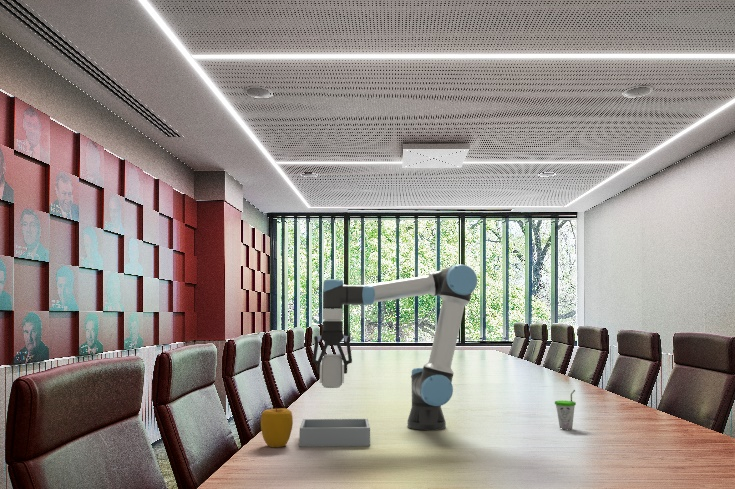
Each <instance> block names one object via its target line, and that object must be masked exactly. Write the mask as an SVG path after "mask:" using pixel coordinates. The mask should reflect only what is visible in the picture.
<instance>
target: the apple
mask: <svg viewBox="0 0 735 489" xmlns="http://www.w3.org/2000/svg"><path fill="white" fill-rule="evenodd" d="M293 419H294V418H293V412H292V411H291V410H290V409H288V408H286V407H284V408H277V407H275V408H271V409H270V408H269V409H265V410H263V411H262V412H261V416H260V430H261V435H262V438H263V441H264V442H265V444H266V445H267V446H268V447H270V448H282V447H284V446H287V444H288V442H289V440H290V436H291V433H292V430H293V424H294V422H293Z"/></svg>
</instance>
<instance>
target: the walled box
mask: <svg viewBox="0 0 735 489" xmlns="http://www.w3.org/2000/svg"><path fill="white" fill-rule="evenodd" d="M369 421H370V420H369V419H368V418H303V419H302V420H301V423H300V426H299V443H298V445H299V447H371V426H370V422H369Z"/></svg>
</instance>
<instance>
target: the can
mask: <svg viewBox="0 0 735 489" xmlns="http://www.w3.org/2000/svg"><path fill="white" fill-rule="evenodd" d="M321 364H322V383H321V386H323V388H325V389H338V388H340V387H341V386H343V383H342V365H343V360H342V357H341V355H340V354H335V353H334V354H333V353H331V354H330V353H327V354H326V353H325V354H324V356H323V358H322V361H321Z"/></svg>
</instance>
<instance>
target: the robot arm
mask: <svg viewBox="0 0 735 489" xmlns="http://www.w3.org/2000/svg"><path fill="white" fill-rule="evenodd" d="M322 284H323V285H322V286H323V288H322V320H323V321H322V333H321V335H315V336H314V337H313V339H314V346H313V347H314V348H313V354H312V360H311V362H312V363H313V364H315V365H316V373H317V374H319V383H320V384H322V359H323V357H324V355H325V354H326V351H327V348H328V347H330V346H333V347H335V346H336V347H337V349H338V352H339V355H341V356H340V357H341V358H342V384H344V383H345V374H348V365H350V364H352V363H353V358H352V351H351V343H350V342H351V336H350V335H344V332H343V324H344V323H343V321H342V320H343V319H344V318H343V317H344V316H343V315H344V314H343V313H344V311H343V310H344V305H347V306H351V305H352V306H356V307H357V306H369V305H370V306H372V305H373V304H374V303H379V302H386V301H392V300H399V299H407V298H412V297H418V296H425V295H427V296H428V295H430V296H432V297H436V296H439V297H440V299H441V301H442V303H441V307H440V311H439V315H438V320H437V323H436V328H435V333H434V337H433V342H432V346H431V350H430V355H429V360H428V362H427V363H425V364H424V365H423V367H415V368H412V370H411V376H410V378H411V408H410V411H409V415H408V418H407V425H406V426H407V428H409V429H413V430H418V431H419V430H420V431H421V430H422V431H437V430H443V429H445V428H446V427H447V426H446V425H447V424H446V419H445V415H444V413H443V409H442V406H444V405H445V404H447V403H448V402H449V401H450V400H451V398H452V397H453V393H454V387H453V384H452V383H453V378H454V371H453V369H452V363H453V358H454V355H455V350H456V346H457V341H458V337H459V332H460V328H461V324H462V321H463V320H462V319H463V315H464V310H465V306H466V305H468V304H470V303H471V297H472V294H473V292H474V290H475V289H476V288H477V284H478V277H477V274H476V272H475V270H474V269H473V268H472V267H470V266H468V265H466V264H454V265H452V266H449V267H446V268H443V269H441V270H437V271H434V272H428V274H427V275H422V276H415V277H410V278H401V279H395V280H390V281H383V282H376V283H369V284H344V280H343V279H339V278H338V279H335V278H334V279H333V278H331V279H330V278H329V279H328V278H327V279H325V280H324V281H323V283H322ZM321 339H322V341H323V342H324V344H323V347H322V350H321V351H320V352H321V353H319V357H318V360H317V355H318V350H319V345H320V344H319V342H320V341H321ZM343 339H344V342H345V343H346V350H347V351H346V352H347V358H348V360H347V358H346V356H345V353H344V350H343V347H342V345H341V342H342V340H343Z"/></svg>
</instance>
